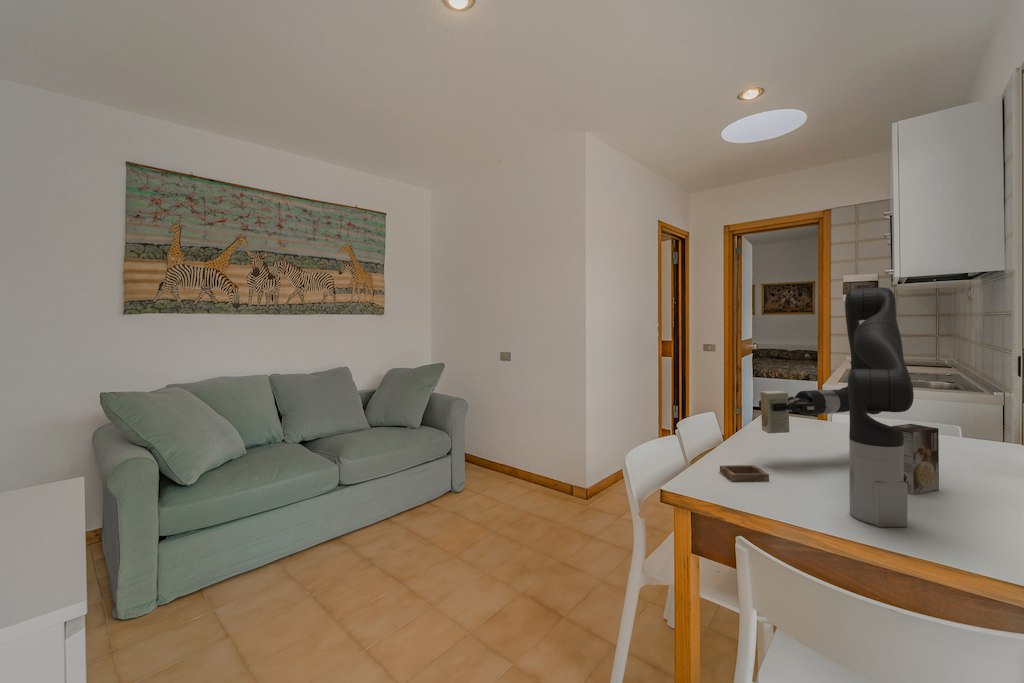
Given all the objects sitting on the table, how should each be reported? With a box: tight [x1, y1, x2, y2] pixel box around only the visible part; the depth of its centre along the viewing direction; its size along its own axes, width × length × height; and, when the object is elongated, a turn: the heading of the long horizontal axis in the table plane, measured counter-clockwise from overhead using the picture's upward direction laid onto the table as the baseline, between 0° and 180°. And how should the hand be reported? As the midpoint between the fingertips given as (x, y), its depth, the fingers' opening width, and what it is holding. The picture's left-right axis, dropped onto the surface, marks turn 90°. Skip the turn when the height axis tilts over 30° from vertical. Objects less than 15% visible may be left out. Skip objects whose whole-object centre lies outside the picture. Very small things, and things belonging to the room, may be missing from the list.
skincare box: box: [759, 390, 791, 434], centre depth 131 cm, size 6×4×12 cm
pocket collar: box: [719, 464, 770, 483], centre depth 124 cm, size 8×10×2 cm
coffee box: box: [891, 423, 940, 495], centre depth 112 cm, size 9×6×16 cm
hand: (766, 405), depth 131 cm, fingers closed on skincare box, 5 cm apart
